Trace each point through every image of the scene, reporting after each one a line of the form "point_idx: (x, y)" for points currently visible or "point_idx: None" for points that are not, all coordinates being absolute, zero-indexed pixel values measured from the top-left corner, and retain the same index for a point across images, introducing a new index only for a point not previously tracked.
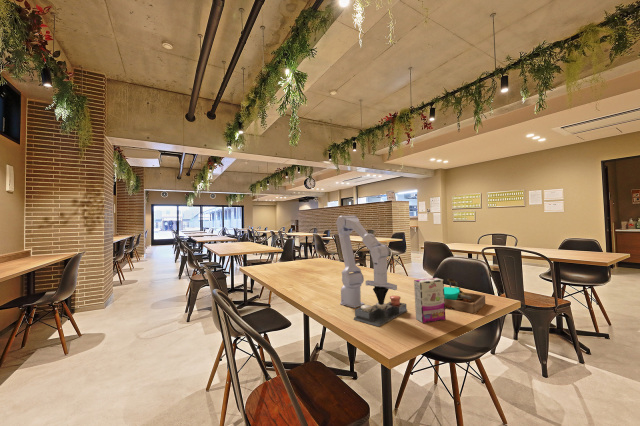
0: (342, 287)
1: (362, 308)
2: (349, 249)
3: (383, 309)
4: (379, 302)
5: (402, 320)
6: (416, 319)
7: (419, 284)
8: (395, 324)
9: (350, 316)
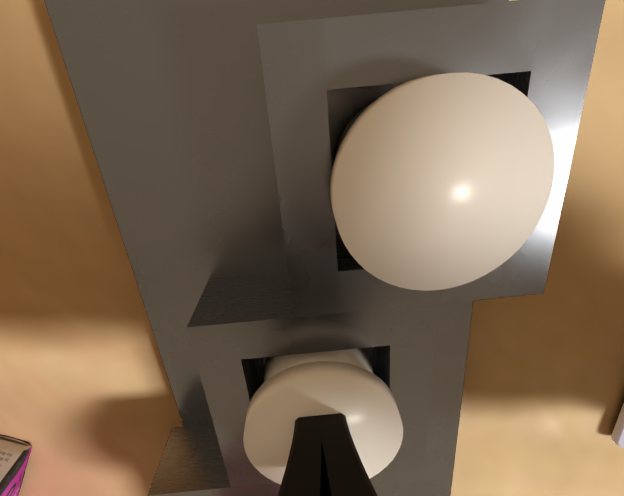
0: None
1: (467, 72)
2: None
3: (225, 350)
4: (324, 438)
5: (79, 357)
6: (23, 442)
7: None
8: (25, 228)
9: (600, 37)
